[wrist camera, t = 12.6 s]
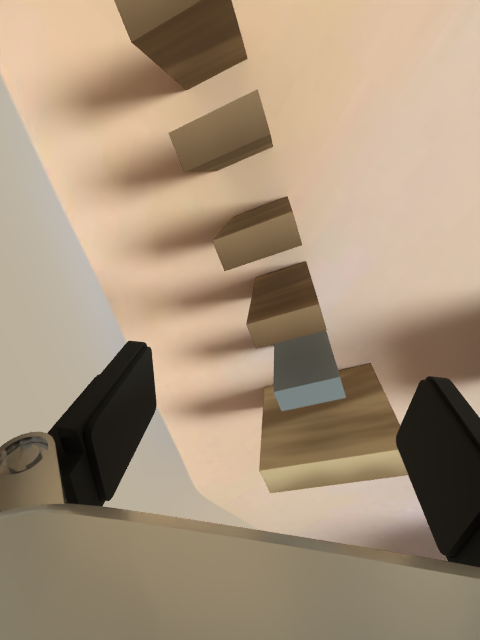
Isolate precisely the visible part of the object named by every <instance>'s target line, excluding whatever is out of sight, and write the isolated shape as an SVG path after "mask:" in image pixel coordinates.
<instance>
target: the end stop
mask: <svg viewBox="0 0 480 640" xmlns="http://www.w3.org/2000/svg"><path fill="white" fill-rule="evenodd" d="M338 372H339V376H340V379H341V382H342V386H343V389H344V392H345V396H346V398H343V399H338V400H333V401H328V402H324V403H319V404H314V405H309V406H305V407H300V408H295V409H290V410H286V411H281V409H280V406H279V404H278V402H277V399H276V397H275V394H274V385H272V386H268V387H264V402H263V418H262V435H261V451H260V468H259V471H260V473H261V475H262V477H263V479H264V481H265V483H266V485H267V487H268V489H269V491H270V493H275V492H283V491H290V490H298V489H305V488H313V487H321V486H328V485H336V484H344V483H351V482H359V481H367V480H374V479H382V478H389V477H397V476H405V475H408V473H407V471H406V468H405V466H404V463H403V461H402V458H401V456H400V453H399V451H398V448H397V446H396V435H397V433H398V430H399V428H400V424H399V422H398V420H397V418H396V416H395V414H394V411H393V409H392V407H391V405H390V403H389V401H388V399H387V397H386V395H385V393H384V390H383V388H382V386H381V384H380V382H379V380H378V378H377V376H376V374H375V372H374V369H373V367H372V365H371V363H370V364H366V365H361V366H357V367H352V368H348V369H343V370H339V371H338Z"/></svg>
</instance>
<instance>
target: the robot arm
mask: <svg viewBox="0 0 480 640" xmlns="http://www.w3.org/2000/svg"><path fill="white" fill-rule="evenodd" d="M155 410H156V393H155V383H154V372H153V361H152V351H151V348H150V347H147V345H146V343H145V342H137V341H128V342H127V343H126V344H125V345H124V347H123V348H122V349H121V350H120V352H119V353H118V354H117V355H116V356H115V357H114V359H113V360H112V361H111V362H110V363H109V364H108V366H107V367H106V368H105V369H104V370H103V372H102V373H101V374H100V375H97V377H95V378H94V379H93V380H92V382H91V383H90V384H89V385H88V386H87V388H86V389H85V390H84V391H83V392H82V393H81V394H80V396H79V397H78V398H77V399H76V400H75V401H74V403H73V404H72V405H71V406H70V407H69V408H68V410H67V411H66V412H65V413H64V414H63V415H62V417H61V418H60V419H59V420H58V421H57V422H56V424H55V425H54V426H53V427H52V428H51V430H50V431H49V432H48V433H43V432H30V433H26V434H22V435H20V436H17V437H15V438H13V439H11V440H9V441H8V442H6V443H5V444H3V445H2V446H1V447H0V640H480V418H479V417H478V415H477V414H476V413H475V411H474V410H473V409H472V408H471V406H470V405H469V404H468V402H467V401H466V400H465V398H464V397H463V396H462V395H461V393H460V392H459V391H458V389H457V388H456V387H455V386H454V384H453V383H452V382H451V381H450V380H449V379H447V378H439V377H431V376H429V377H427V378H426V379H425V380H421V381H420V383H419V385H418V387H417V389H416V392H415V394H414V396H413V398H412V401H411V403H410V405H409V408H408V410H407V412H406V414H405V417H404V419H403V421H402V423H401V426H400V428H399V430H398V433H397V435H396V446H397V448H398V451H399V453H400V456H401V458H402V461H403V463H404V466H405V468H406V471H407V473H408V475H409V478H410V480H411V483H412V485H413V488H414V490H415V493H416V495H417V498H418V500H419V502H420V505H421V507H422V510H423V512H424V515H425V517H426V520H427V522H428V525H429V527H430V529H431V532H432V534H433V537H434V539H435V542H436V544H437V547H438V549H439V551H440V552H441V553H442V554H443V555H446V557H447V560H448V561H442V560H436V559H430V558H424V557H418V556H412V555H407V554H401V553H395V552H389V551H383V550H377V549H371V548H365V547H359V546H353V545H347V544H341V543H335V542H328V541H322V540H316V539H310V538H304V537H298V536H292V535H285V534H279V533H273V532H267V531H261V530H254V529H248V528H242V527H236V526H229V525H222V524H216V523H210V522H204V521H197V520H191V519H185V518H178V517H172V516H166V515H159V514H152V513H145V512H138V511H131V510H124V509H116V508H109V507H102V506H103V504H104V502H105V501H109V500H111V498H112V497H113V495H114V493H115V491H116V489H117V487H118V485H119V483H120V481H121V479H122V477H123V475H124V473H125V471H126V469H127V467H128V465H129V463H130V461H131V459H132V457H133V455H134V453H135V451H136V449H137V447H138V445H139V443H140V441H141V439H142V437H143V435H144V433H145V431H146V429H147V427H148V425H149V423H150V421H151V419H152V417H153V415H154V413H155Z"/></svg>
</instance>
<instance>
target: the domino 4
mask: <svg viewBox="0 0 480 640" xmlns="http://www.w3.org/2000/svg"><path fill="white" fill-rule="evenodd" d="M246 325H247V328H248V330H249V332H250V335H251V337H252V340H253V342H254V345H255V347H256V348H260V347H264V346H268V345H271V344H275V343H279V342H283V341H287V340H291V339H294V338H298V337H302V336H306V335H310V334H314V333H317V332H321V331H325V330H326V326H325V323H324V319H323V316H322V312H321V309H320V306H319V302H318V299H317V296H316V292H315V289H314V286H313V282H312V279H311V276H310V273H309V269H308V266H307V263H306V261H305V262H302V263H299V264H296V265H293V266H290V267H287V268H284V269H281V270H277V271H274V272H271V273H268V274H265V275H262V276H259V277H256V279H255V284H254V289H253V294H252V299H251V304H250V309H249V314H248V319H247V324H246Z"/></svg>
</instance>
